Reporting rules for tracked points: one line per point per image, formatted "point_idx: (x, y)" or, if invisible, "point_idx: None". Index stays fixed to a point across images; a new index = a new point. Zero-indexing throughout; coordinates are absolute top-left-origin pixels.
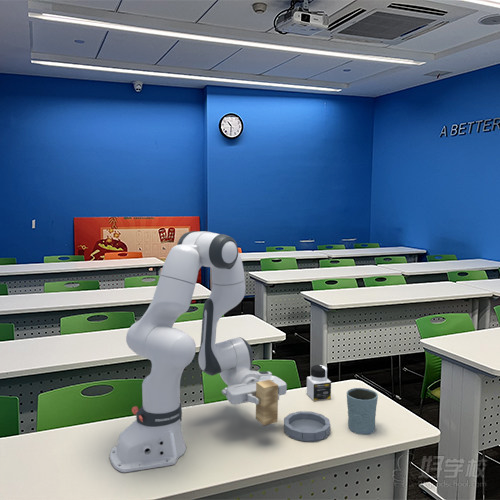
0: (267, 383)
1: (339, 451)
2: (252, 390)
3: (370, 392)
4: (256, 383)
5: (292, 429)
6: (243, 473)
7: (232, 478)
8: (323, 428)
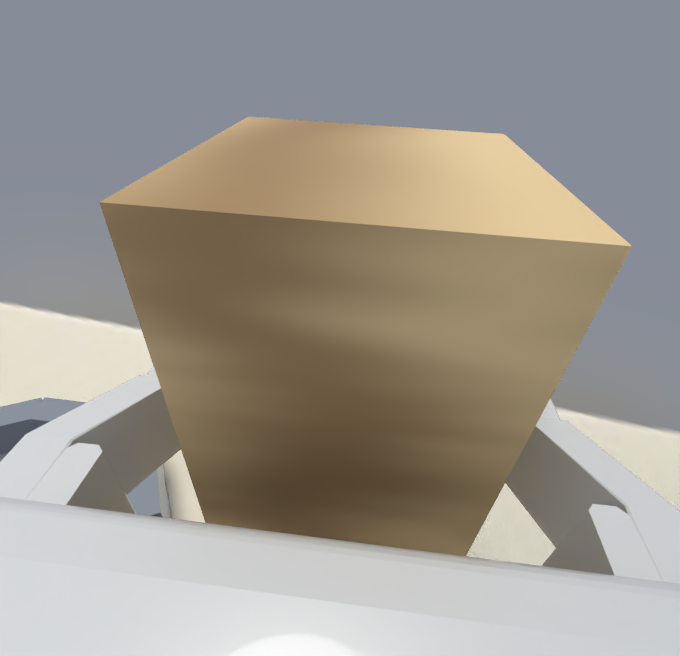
0: (355, 156)
1: (140, 348)
2: (599, 594)
3: None
4: (606, 269)
5: (155, 505)
6: None
7: (617, 427)
8: (27, 413)
